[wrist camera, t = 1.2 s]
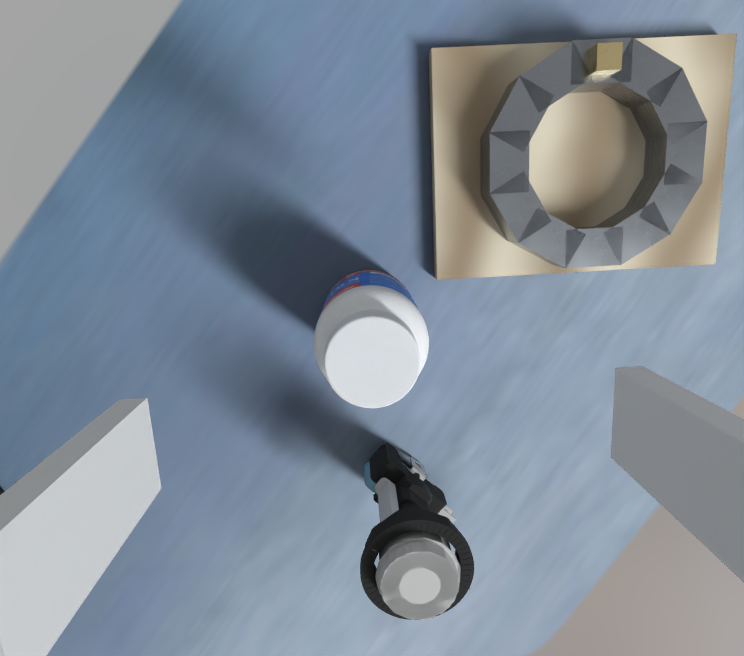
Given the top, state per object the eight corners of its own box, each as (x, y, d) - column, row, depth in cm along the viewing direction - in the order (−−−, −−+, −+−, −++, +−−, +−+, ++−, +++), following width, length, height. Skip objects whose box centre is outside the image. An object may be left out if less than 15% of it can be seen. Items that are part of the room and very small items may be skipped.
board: (434, 277, 30) (437, 279, 29) (428, 53, 28) (431, 48, 27) (703, 262, 31) (715, 264, 30) (723, 39, 28) (736, 33, 27)
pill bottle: (348, 252, 30) (345, 271, 20) (429, 294, 31) (464, 331, 21) (306, 335, 31) (285, 390, 21) (386, 374, 31) (400, 443, 22)
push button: (474, 482, 33) (524, 593, 23) (420, 539, 34) (446, 670, 24) (396, 420, 32) (414, 510, 22) (341, 481, 33) (336, 594, 23)
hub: (480, 268, 29) (493, 274, 27) (479, 56, 27) (493, 38, 24) (673, 257, 29) (705, 262, 27) (689, 46, 27) (726, 27, 24)
